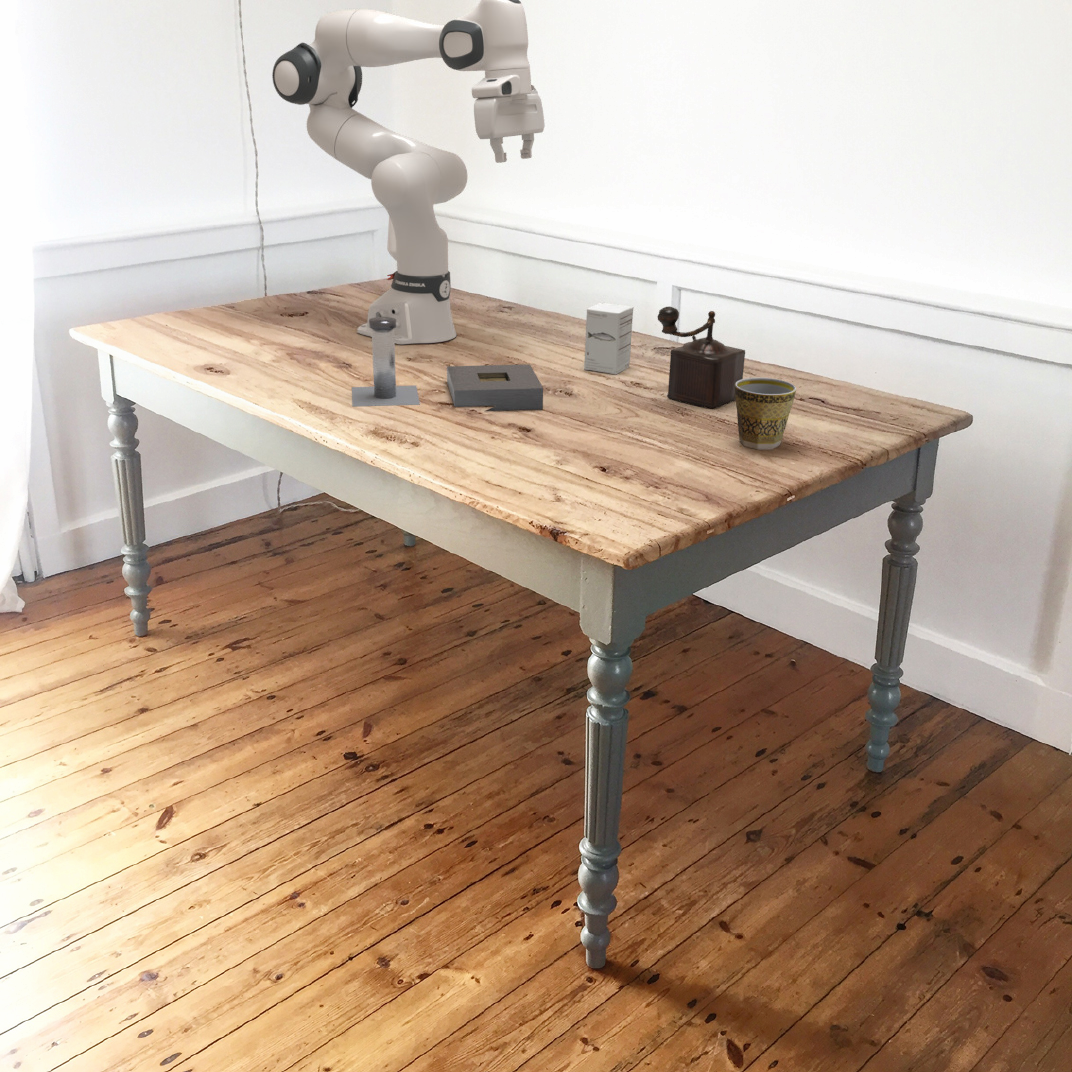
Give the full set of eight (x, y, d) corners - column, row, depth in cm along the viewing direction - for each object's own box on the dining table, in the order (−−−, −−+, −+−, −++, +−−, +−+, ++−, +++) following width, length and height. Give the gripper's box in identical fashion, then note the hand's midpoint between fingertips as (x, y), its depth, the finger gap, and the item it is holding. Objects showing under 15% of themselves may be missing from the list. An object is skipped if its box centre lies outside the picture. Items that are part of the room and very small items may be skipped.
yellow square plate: (481, 391, 210) (481, 386, 210) (478, 383, 215) (478, 378, 215) (508, 390, 211) (508, 385, 211) (505, 383, 216) (505, 378, 215)
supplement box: (582, 370, 232) (585, 308, 227) (598, 362, 238) (600, 301, 233) (616, 375, 229) (619, 312, 224) (631, 367, 235) (634, 305, 230)
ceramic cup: (797, 452, 189) (804, 394, 185) (738, 453, 188) (743, 395, 184) (774, 427, 201) (780, 372, 197) (718, 428, 200) (723, 372, 196)
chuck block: (454, 412, 206) (454, 390, 204) (447, 386, 220) (446, 366, 218) (542, 409, 208) (543, 388, 206) (529, 384, 222) (530, 364, 221)
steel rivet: (366, 396, 210) (363, 320, 204) (383, 390, 214) (380, 315, 208) (387, 401, 208) (384, 324, 202) (403, 394, 211) (401, 319, 206)
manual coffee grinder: (693, 386, 223) (700, 293, 216) (742, 397, 217) (751, 303, 210) (647, 403, 212) (653, 306, 205) (698, 416, 206) (705, 317, 199)
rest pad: (352, 411, 205) (352, 406, 204) (352, 392, 215) (351, 387, 215) (420, 409, 206) (420, 404, 206) (416, 390, 217) (416, 385, 217)
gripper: (522, 85, 233) (527, 156, 238) (466, 88, 217) (472, 165, 222) (549, 83, 230) (554, 155, 235) (493, 86, 214) (499, 164, 219)
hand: (514, 160), depth 229 cm, fingers open, 8 cm apart
